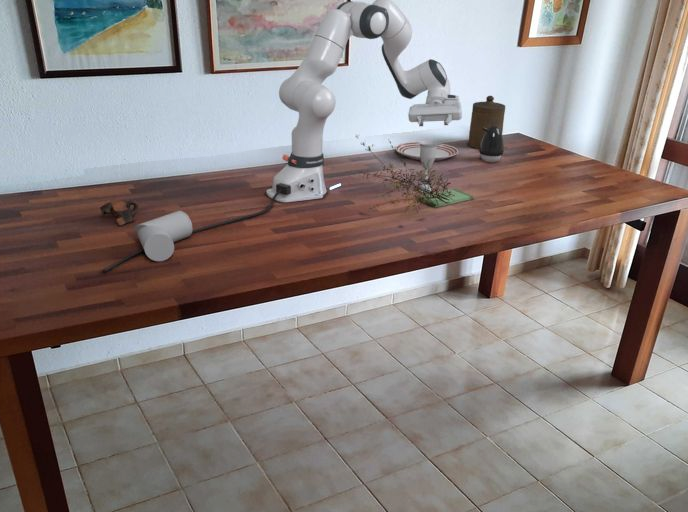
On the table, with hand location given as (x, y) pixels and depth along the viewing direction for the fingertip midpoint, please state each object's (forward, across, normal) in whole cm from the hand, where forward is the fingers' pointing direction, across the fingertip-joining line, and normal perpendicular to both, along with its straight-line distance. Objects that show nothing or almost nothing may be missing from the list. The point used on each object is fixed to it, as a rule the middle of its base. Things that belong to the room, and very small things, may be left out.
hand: (433, 124), depth 261 cm
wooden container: (-51, +16, +44) cm, 69 cm away
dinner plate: (-28, -8, +33) cm, 44 cm away
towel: (+25, +6, +16) cm, 30 cm away
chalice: (+17, -3, +18) cm, 25 cm away
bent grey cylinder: (+86, -72, -15) cm, 113 cm away
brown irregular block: (+70, -95, -12) cm, 119 cm away
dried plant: (+50, -6, +6) cm, 50 cm away
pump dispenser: (-27, +19, +36) cm, 49 cm away
